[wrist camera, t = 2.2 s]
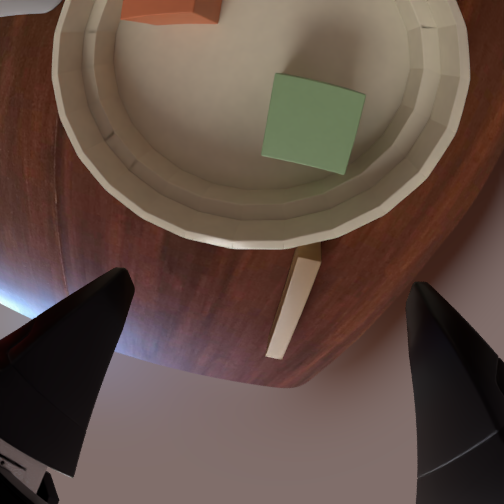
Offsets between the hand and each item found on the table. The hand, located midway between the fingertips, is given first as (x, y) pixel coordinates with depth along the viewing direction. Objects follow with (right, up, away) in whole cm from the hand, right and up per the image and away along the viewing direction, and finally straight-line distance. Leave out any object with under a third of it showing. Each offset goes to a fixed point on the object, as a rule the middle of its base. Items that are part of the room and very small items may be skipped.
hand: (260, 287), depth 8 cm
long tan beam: (+3, -3, +16) cm, 16 cm away
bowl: (0, +13, +5) cm, 14 cm away
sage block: (+3, +9, +6) cm, 11 cm away
